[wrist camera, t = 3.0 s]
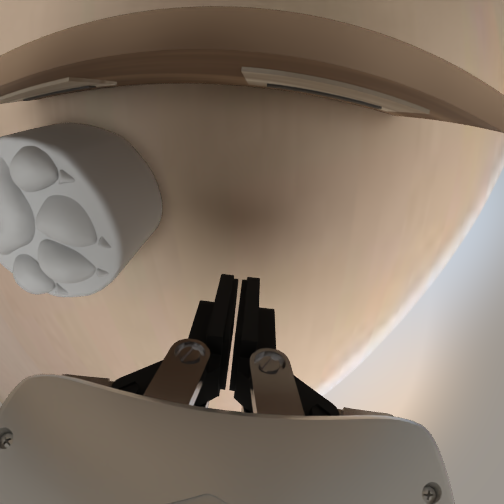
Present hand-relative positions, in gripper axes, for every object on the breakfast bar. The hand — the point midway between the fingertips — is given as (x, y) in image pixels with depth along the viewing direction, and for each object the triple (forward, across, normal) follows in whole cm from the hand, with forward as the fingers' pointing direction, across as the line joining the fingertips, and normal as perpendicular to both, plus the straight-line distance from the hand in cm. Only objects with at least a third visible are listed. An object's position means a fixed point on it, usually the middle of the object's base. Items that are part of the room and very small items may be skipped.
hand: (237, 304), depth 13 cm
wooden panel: (+9, +5, -11) cm, 15 cm away
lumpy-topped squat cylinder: (+10, +13, -2) cm, 16 cm away
